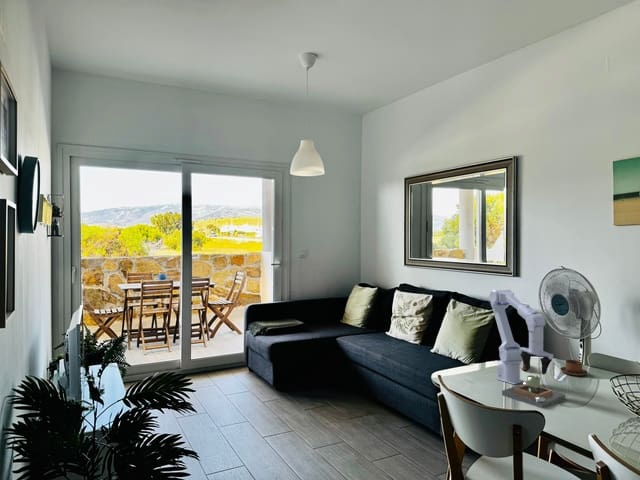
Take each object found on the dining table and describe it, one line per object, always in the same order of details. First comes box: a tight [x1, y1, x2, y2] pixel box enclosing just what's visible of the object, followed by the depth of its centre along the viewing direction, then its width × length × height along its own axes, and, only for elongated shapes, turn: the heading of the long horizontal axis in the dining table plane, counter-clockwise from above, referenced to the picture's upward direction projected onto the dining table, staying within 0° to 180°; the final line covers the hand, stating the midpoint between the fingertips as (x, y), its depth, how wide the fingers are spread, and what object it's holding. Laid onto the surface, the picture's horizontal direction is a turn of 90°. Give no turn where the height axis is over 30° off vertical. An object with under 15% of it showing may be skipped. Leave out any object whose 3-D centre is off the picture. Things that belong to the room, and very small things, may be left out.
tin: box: [520, 360, 527, 371], centre depth 234 cm, size 15×3×8 cm, turn 168°
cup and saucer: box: [560, 359, 589, 377], centre depth 224 cm, size 12×12×6 cm
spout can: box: [526, 374, 541, 394], centre depth 190 cm, size 5×5×8 cm
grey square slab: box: [501, 380, 566, 409], centre depth 190 cm, size 18×18×4 cm
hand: (535, 371), depth 196 cm, fingers open, 7 cm apart
